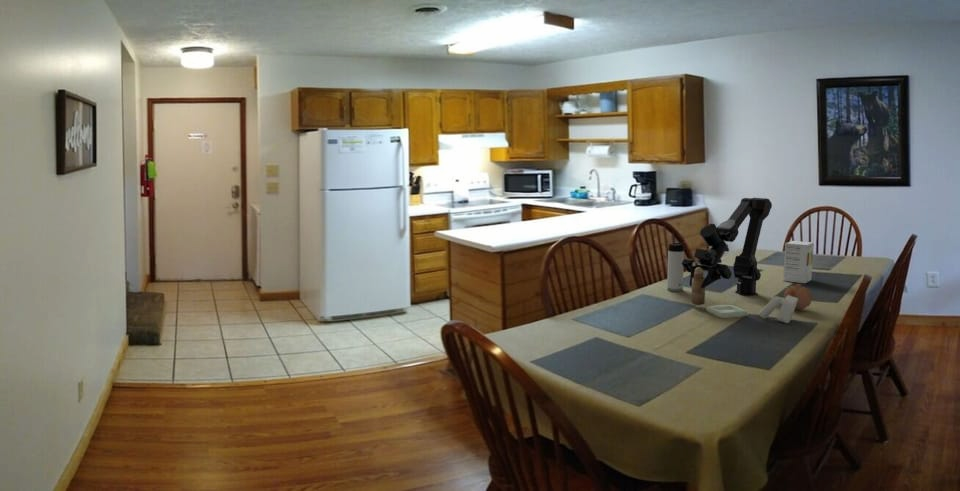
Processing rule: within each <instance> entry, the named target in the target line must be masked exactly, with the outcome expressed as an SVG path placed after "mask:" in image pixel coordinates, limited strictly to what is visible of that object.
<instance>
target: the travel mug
mask: <svg viewBox="0 0 960 491" xmlns="http://www.w3.org/2000/svg"><path fill="white" fill-rule="evenodd" d="M685 245H686V243H685V242H684V241H683V242H673V243H669V244H668V250H667V254H668V256H667V277H666V278H667V281H666V282H667V284H666V289H667V291H668V292H669V291H670V292H676V293H677V292H682V291H683V290H684V288H683V286H684V267H683V265H682V264H681V263H682V261H683V260H684V259H685V249H684V248H685Z"/></svg>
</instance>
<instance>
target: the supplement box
mask: <svg viewBox="0 0 960 491" xmlns="http://www.w3.org/2000/svg"><path fill="white" fill-rule="evenodd" d="M814 244H815V243H814V242H811V241H801V240H800V241H799V240H791V241H788V242H785V244H784V263H783V277H782V278H783V279H782V280H783V281H784V282H791V283H796V284H798V283H799V284H807V283H808V282H811V281H812V276H813V275H812V273H813V259H814Z"/></svg>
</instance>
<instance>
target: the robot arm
mask: <svg viewBox="0 0 960 491" xmlns="http://www.w3.org/2000/svg"><path fill="white" fill-rule="evenodd" d="M772 206H773V204H772V201H771V200H770V199H769V198H765V197H752V198H751V197H743V198H741V200H740V203H739V205H738V206H737V207H736V209H734V211H733V212H732V214H731V215H730V216H729V218H728V219H726V221H723V222H721V223H719V225H716V223H709V224H708V225H706V226H704V227H703V228H701V229H700V231H699V234H700V236H701V238H702V240H703V241H704V243H705V244H706V245H707V246H708V249H704V248H703V249H701V248H695V250H694V254H693V258H697V262H698V263H697V262H696V261H695V260H694V259H691V258H684V260H683V261H682V263H681V264H682V265H683V269H684V270H685V271H686V272H688V273H690V278H689V286H690V287H692V278H693V277H694V273H695V269H696V268H698V267H700V268H702V269H703V272H707V274H706V276H705V277H704V278H705V280H704V282H703V284H702V286H701V287H702V288H705V289H706V287H708V286H709V285H711V284H713V283H715V282H717V281H718V280H721V279H725V280H729V279H731V277H732V274H734V275H733V276H734V278H736V279H737V282H736V290H735V291H734V292H735V293H736V294H739V295H742V296H754V295H759V293H758V292H757V281H759V280H760V279H761V276H762V275H761V272H760V270H759V268H758V261H757V257H756V251H757V248H758V243H759V239H760V235H761V230H762V225H763V222H764V220H765V219H766V218H767V217H768V216H769V215H770V212H771V209H772ZM748 216H749V222H748V225H747V229H746V235H745V239H744V243H743V248H742V251H741V253H740V254H738V255H736V256H735V257H734V263H733V267H732V268H733V273H732V271H731V269H730V268H729V266H728V265H727V264H723V263H722V261H723V260H722V257H723V256H724V254H725V252H727V253H728V252H730V248H729V245H728V244H727V243H726V242H729V243H733V242H735V240H736V239H737V237H738V235H739V228H740V227H741V225H742V224H743V222H745V220H746V219H747V217H748Z"/></svg>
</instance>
